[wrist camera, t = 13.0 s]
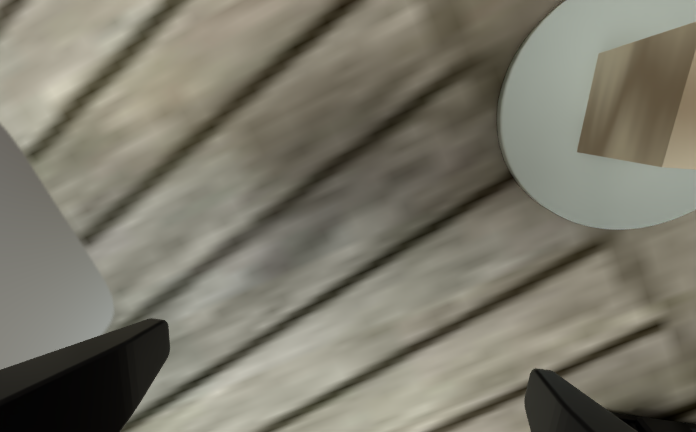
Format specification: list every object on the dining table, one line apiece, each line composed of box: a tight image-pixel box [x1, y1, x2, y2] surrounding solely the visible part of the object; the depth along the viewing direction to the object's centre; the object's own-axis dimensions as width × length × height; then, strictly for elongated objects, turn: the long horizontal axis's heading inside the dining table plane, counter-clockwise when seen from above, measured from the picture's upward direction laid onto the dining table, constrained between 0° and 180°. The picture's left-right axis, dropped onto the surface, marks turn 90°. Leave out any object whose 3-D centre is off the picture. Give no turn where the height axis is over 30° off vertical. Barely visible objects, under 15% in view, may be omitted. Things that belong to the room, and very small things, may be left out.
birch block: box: [577, 22, 696, 170], centre depth 14 cm, size 4×4×6 cm
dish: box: [497, 0, 696, 230], centre depth 18 cm, size 12×12×1 cm
